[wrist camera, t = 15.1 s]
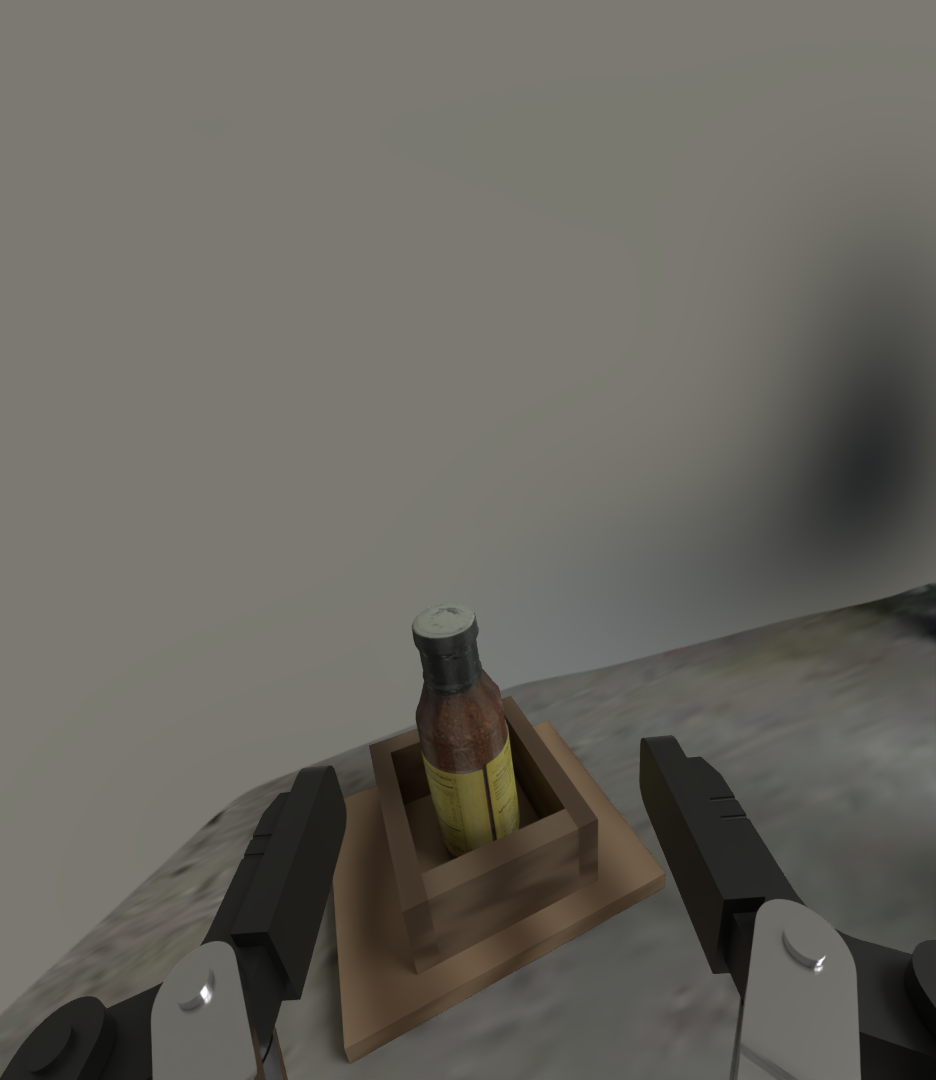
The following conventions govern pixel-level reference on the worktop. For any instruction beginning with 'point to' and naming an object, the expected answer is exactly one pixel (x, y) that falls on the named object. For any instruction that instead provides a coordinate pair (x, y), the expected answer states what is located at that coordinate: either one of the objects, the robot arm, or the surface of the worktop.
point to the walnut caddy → (471, 883)
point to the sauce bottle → (463, 733)
